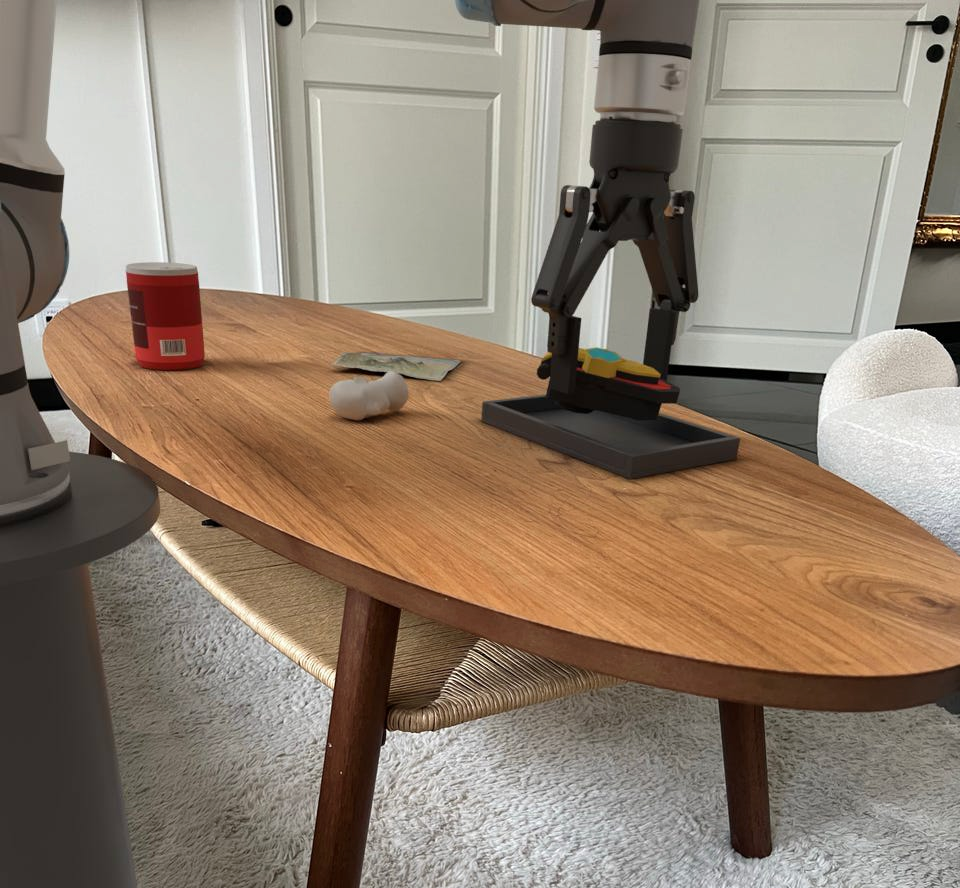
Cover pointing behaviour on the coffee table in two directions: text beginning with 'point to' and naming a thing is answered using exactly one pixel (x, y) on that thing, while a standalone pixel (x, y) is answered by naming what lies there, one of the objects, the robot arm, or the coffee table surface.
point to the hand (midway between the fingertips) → (609, 385)
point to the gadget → (612, 386)
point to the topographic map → (399, 364)
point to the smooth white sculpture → (368, 396)
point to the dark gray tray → (612, 437)
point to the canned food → (166, 315)
